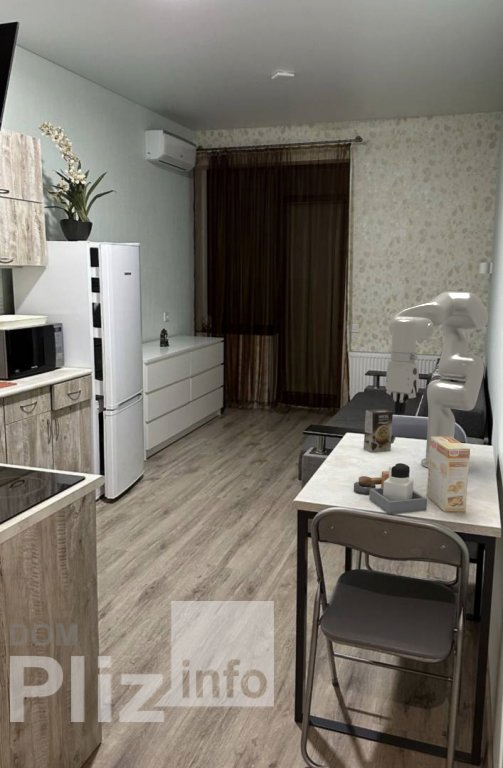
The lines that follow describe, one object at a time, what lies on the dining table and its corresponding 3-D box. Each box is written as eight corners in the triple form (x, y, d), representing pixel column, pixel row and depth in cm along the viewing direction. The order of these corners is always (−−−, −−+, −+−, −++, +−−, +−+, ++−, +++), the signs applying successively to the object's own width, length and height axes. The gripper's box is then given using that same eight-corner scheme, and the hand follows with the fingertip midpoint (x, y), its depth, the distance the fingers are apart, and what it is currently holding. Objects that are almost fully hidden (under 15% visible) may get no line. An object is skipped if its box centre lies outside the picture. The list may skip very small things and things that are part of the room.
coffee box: (372, 453, 255) (374, 413, 252) (363, 448, 260) (364, 409, 258) (391, 450, 258) (393, 411, 255) (382, 446, 264) (384, 408, 261)
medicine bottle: (412, 501, 199) (414, 463, 197) (405, 508, 193) (407, 469, 191) (390, 496, 203) (392, 460, 200) (382, 503, 196) (384, 465, 194)
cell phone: (396, 436, 282) (396, 435, 282) (392, 444, 269) (392, 442, 269) (379, 435, 285) (379, 433, 284) (374, 442, 272) (374, 441, 271)
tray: (404, 495, 205) (405, 485, 205) (426, 509, 194) (427, 498, 193) (369, 499, 202) (369, 488, 201) (389, 513, 190) (389, 502, 189)
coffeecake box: (466, 511, 192) (471, 448, 189) (443, 512, 192) (447, 448, 189) (447, 494, 207) (451, 435, 204) (425, 495, 207) (429, 436, 203)
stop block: (383, 495, 206) (385, 474, 205) (380, 492, 209) (382, 471, 207) (393, 495, 206) (394, 474, 205) (389, 491, 209) (391, 471, 208)
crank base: (369, 486, 214) (369, 480, 214) (379, 493, 207) (379, 487, 207) (349, 488, 212) (350, 482, 212) (359, 495, 205) (359, 489, 205)
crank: (360, 486, 207) (361, 467, 206) (357, 482, 211) (357, 463, 210) (403, 485, 209) (404, 466, 208) (399, 481, 213) (400, 463, 212)
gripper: (429, 359, 203) (426, 416, 206) (390, 354, 214) (388, 408, 217) (415, 361, 198) (412, 419, 201) (376, 355, 209) (374, 411, 212)
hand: (399, 413), depth 209 cm, fingers closed
